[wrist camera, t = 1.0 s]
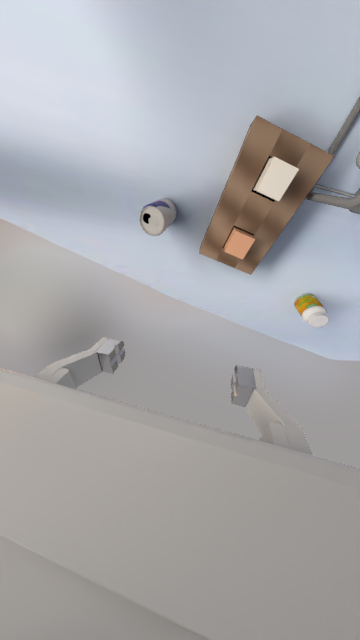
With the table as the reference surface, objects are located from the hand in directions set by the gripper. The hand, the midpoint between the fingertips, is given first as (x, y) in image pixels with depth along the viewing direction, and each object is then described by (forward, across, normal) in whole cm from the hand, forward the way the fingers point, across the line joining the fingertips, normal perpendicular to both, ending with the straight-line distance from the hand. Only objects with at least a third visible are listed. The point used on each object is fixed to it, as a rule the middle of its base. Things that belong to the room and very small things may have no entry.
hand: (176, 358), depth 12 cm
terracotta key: (+35, -5, -5) cm, 36 cm away
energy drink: (+38, +13, -10) cm, 41 cm away
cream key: (+33, -8, -16) cm, 38 cm away
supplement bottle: (+45, -29, +10) cm, 54 cm away
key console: (+39, -6, -11) cm, 41 cm away
